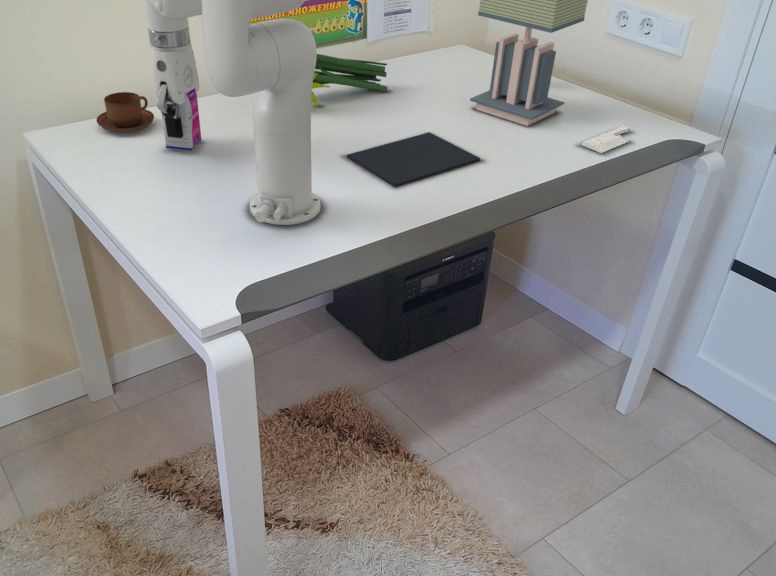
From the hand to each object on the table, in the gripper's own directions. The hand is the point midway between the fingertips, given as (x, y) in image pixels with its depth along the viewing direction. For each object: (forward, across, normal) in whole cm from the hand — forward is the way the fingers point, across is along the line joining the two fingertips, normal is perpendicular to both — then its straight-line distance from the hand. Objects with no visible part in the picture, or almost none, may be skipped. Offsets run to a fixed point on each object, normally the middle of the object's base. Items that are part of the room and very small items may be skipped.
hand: (182, 130), depth 147 cm
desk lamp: (+4, +42, -64) cm, 77 cm away
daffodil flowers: (+4, +37, -20) cm, 42 cm away
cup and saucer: (+3, +6, +16) cm, 18 cm away
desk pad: (+4, +8, -46) cm, 47 cm away
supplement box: (+3, 0, 0) cm, 3 cm away
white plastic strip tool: (+5, +30, -86) cm, 92 cm away
